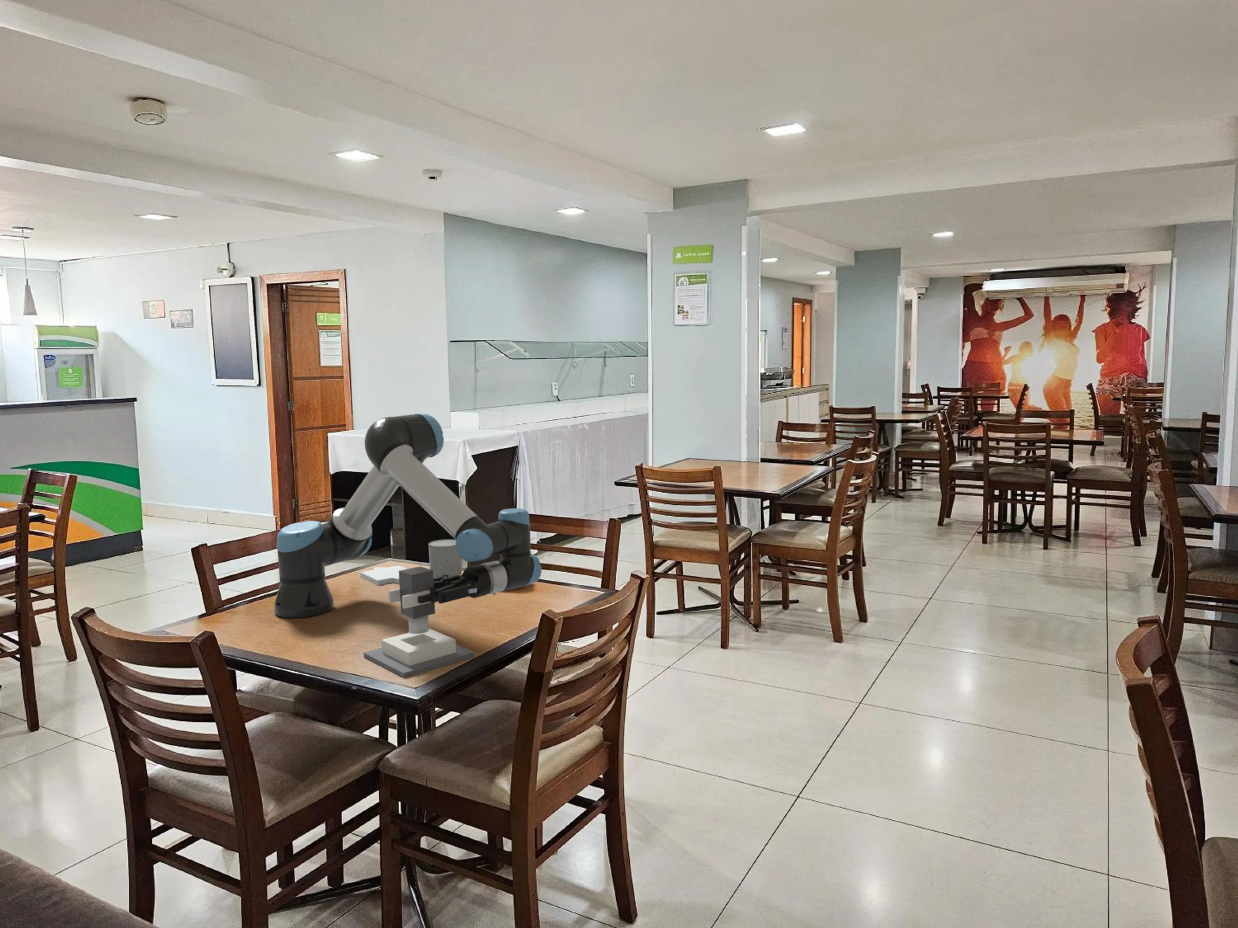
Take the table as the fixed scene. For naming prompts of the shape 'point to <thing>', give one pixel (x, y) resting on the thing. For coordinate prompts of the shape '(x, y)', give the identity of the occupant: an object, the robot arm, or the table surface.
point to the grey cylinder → (444, 558)
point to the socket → (417, 653)
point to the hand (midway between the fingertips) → (396, 599)
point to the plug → (415, 583)
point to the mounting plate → (383, 575)
